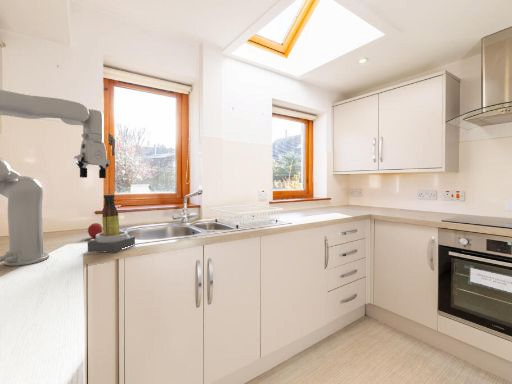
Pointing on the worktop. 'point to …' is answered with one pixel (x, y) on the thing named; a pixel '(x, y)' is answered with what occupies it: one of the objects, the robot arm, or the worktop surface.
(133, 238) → the mount
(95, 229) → the tomato
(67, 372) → the worktop surface
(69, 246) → the worktop surface
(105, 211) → the sauce bottle
